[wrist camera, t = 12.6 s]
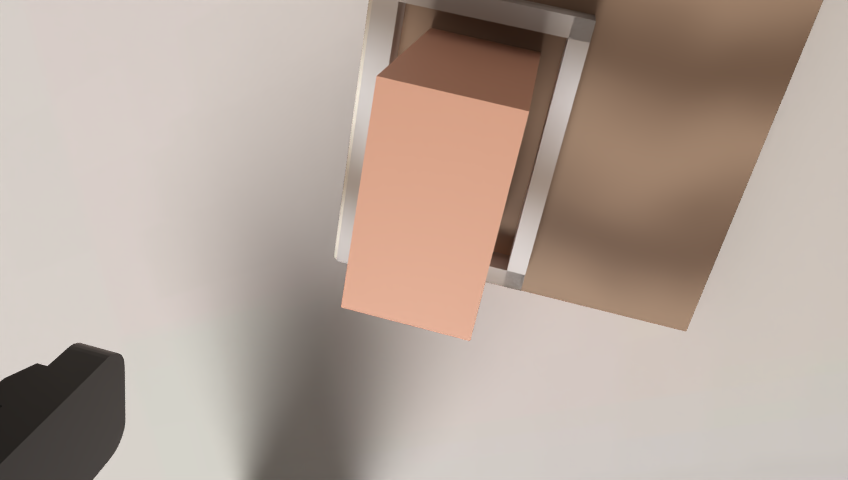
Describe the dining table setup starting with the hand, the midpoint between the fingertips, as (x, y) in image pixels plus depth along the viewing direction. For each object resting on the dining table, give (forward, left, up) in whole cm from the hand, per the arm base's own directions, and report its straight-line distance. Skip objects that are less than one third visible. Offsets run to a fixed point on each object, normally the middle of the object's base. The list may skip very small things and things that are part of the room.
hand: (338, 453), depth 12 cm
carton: (+1, 0, -20) cm, 20 cm away
